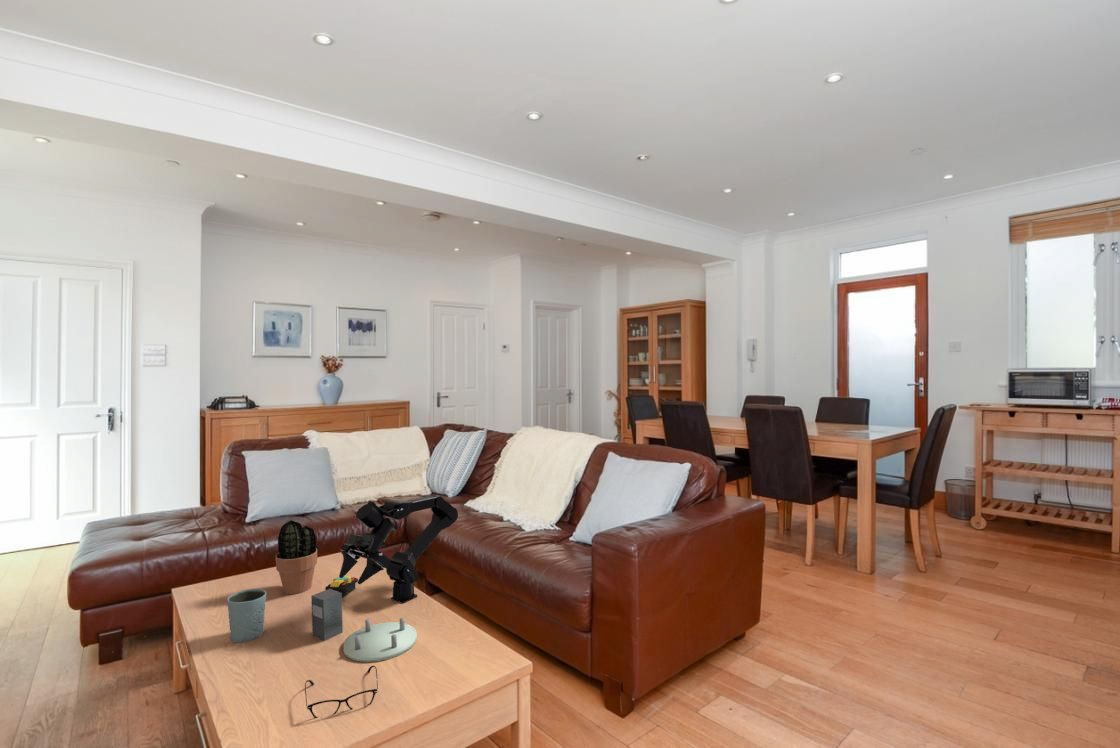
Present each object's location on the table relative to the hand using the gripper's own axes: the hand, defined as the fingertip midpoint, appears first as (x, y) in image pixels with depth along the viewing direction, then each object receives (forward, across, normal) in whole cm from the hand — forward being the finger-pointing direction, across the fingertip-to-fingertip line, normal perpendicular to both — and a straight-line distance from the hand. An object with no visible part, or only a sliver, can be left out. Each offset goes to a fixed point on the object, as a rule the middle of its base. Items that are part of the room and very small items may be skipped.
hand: (349, 580), depth 171 cm
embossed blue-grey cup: (+24, -20, -5) cm, 32 cm away
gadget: (0, -22, +19) cm, 29 cm away
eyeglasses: (+27, +30, -7) cm, 41 cm away
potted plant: (+5, -39, +14) cm, 42 cm away
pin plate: (+11, +18, +7) cm, 23 cm away
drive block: (+15, 0, +4) cm, 15 cm away
